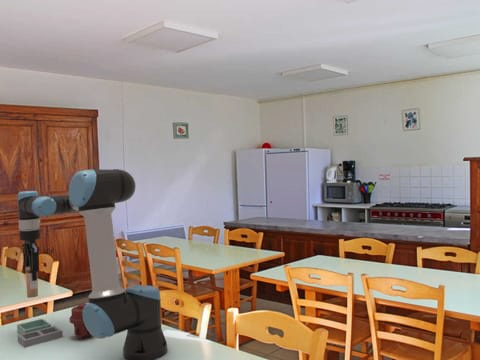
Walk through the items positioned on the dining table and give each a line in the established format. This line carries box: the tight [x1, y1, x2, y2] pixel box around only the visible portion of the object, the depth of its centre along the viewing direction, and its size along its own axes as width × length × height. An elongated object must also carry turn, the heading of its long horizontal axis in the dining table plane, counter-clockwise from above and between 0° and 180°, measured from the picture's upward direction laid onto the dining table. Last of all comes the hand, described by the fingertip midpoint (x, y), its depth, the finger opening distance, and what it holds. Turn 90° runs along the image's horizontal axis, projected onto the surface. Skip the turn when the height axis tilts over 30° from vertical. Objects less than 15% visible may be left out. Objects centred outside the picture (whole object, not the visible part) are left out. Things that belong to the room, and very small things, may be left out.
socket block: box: [17, 325, 64, 348], centre depth 174 cm, size 8×14×2 cm, turn 132°
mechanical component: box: [68, 303, 93, 341], centre depth 175 cm, size 12×10×10 cm
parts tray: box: [16, 318, 52, 335], centre depth 182 cm, size 10×10×3 cm
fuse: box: [25, 266, 39, 299], centre depth 182 cm, size 4×4×12 cm
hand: (32, 287), depth 182 cm, fingers closed on fuse, 4 cm apart
